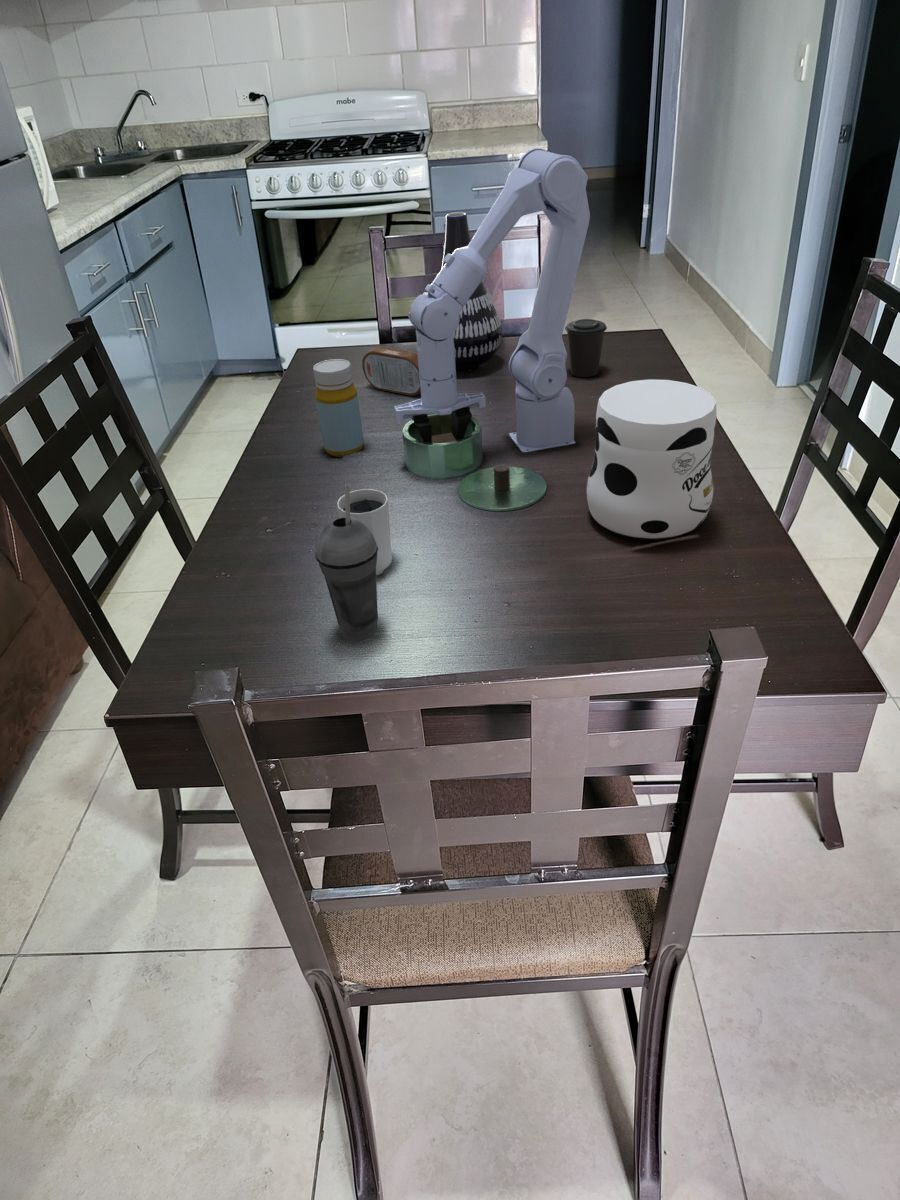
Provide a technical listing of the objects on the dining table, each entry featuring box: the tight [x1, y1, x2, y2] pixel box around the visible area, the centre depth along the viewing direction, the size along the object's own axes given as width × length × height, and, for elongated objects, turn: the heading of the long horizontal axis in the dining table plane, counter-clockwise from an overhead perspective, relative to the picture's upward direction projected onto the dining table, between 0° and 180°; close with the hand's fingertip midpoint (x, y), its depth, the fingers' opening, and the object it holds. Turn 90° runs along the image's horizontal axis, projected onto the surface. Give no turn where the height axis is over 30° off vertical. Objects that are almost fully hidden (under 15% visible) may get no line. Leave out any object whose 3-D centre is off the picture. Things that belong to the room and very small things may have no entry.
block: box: [432, 433, 456, 443], centre depth 137 cm, size 4×4×4 cm
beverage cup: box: [315, 483, 379, 642], centre depth 97 cm, size 7×7×20 cm
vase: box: [440, 211, 503, 373], centre depth 166 cm, size 16×16×30 cm
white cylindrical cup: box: [336, 488, 393, 576], centre depth 112 cm, size 7×7×10 cm
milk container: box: [586, 379, 717, 542], centre depth 115 cm, size 17×17×18 cm
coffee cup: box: [564, 318, 608, 378], centre depth 164 cm, size 8×8×10 cm
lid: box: [457, 463, 547, 512], centre depth 128 cm, size 14×14×4 cm
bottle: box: [312, 358, 365, 458], centre depth 141 cm, size 7×7×15 cm
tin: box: [361, 345, 421, 397], centre depth 163 cm, size 15×3×8 cm, turn 58°
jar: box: [401, 414, 484, 480], centre depth 137 cm, size 13×13×6 cm
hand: (443, 454), depth 137 cm, fingers closed on block, 4 cm apart
